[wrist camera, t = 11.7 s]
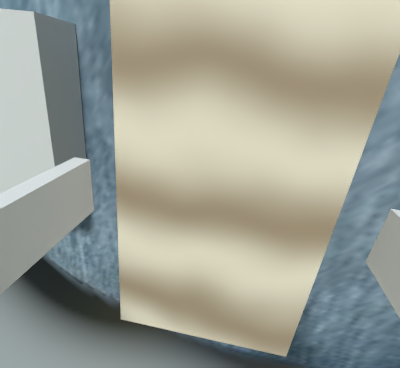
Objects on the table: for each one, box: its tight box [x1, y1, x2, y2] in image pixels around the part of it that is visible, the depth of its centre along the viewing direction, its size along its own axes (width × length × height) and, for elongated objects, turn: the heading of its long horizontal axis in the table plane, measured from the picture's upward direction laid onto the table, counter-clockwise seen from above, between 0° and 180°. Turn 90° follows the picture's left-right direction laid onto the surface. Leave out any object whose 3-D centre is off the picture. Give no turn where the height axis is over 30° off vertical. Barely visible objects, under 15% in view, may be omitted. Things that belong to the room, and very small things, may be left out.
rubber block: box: [0, 9, 86, 193], centre depth 20 cm, size 14×7×4 cm, turn 174°
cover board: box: [110, 0, 400, 357], centre depth 14 cm, size 20×11×2 cm, turn 174°
